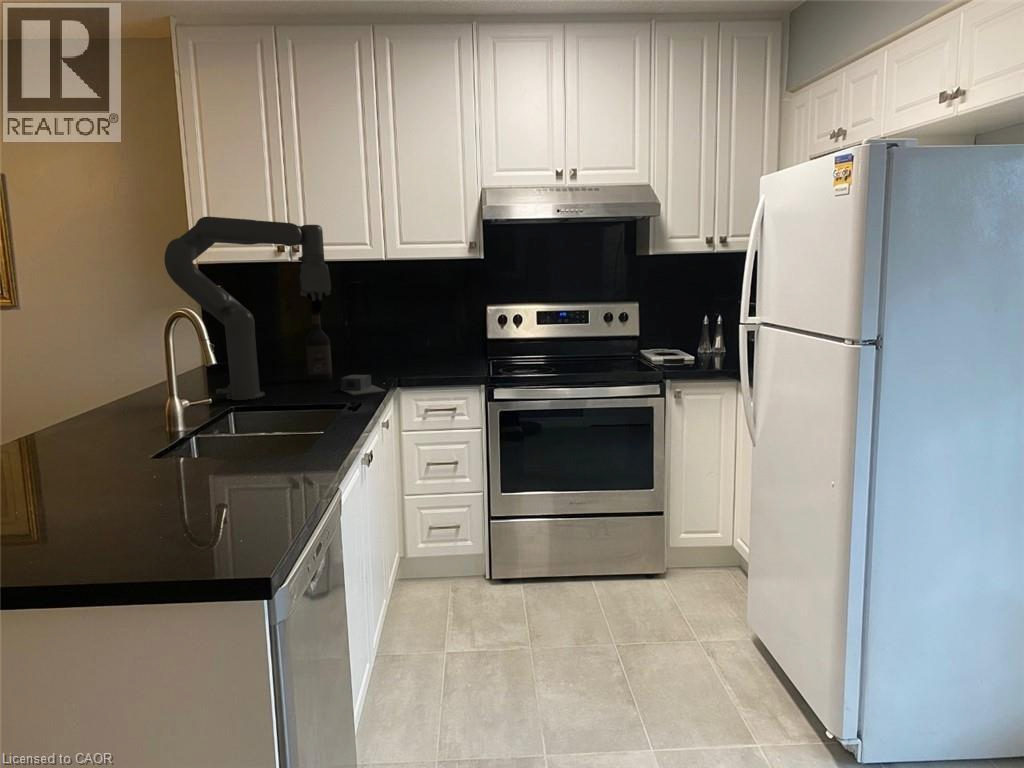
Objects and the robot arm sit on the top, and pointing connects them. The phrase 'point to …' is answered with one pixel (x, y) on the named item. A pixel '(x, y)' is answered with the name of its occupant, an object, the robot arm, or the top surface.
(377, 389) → the mat
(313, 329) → the liquor
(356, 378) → the medicine box
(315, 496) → the top surface
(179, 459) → the top surface
